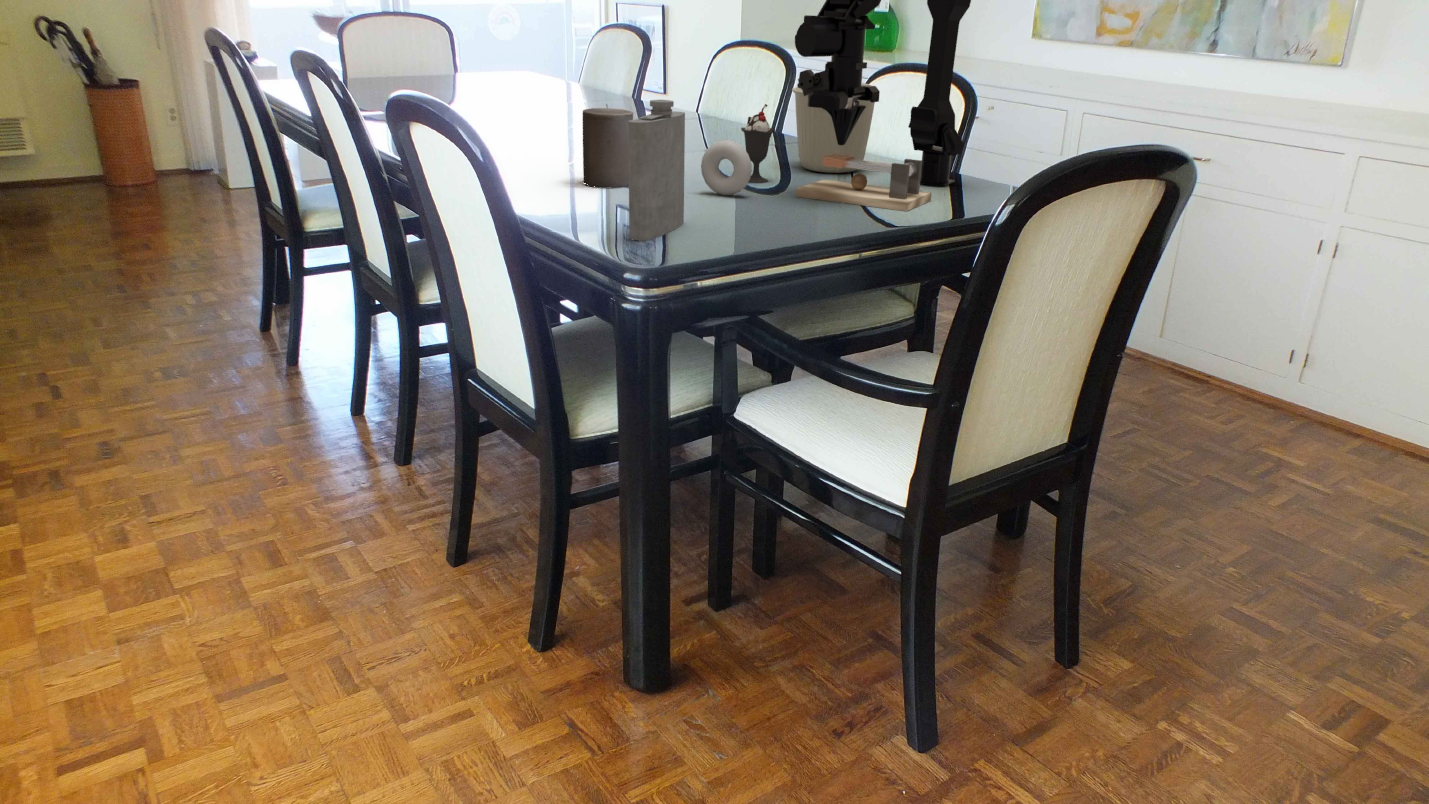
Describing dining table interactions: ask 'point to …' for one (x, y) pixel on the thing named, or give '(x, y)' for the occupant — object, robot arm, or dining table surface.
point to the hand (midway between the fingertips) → (841, 145)
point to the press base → (873, 190)
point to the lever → (861, 164)
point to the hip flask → (656, 171)
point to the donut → (738, 160)
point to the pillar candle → (606, 147)
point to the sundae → (757, 142)
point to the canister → (828, 135)
